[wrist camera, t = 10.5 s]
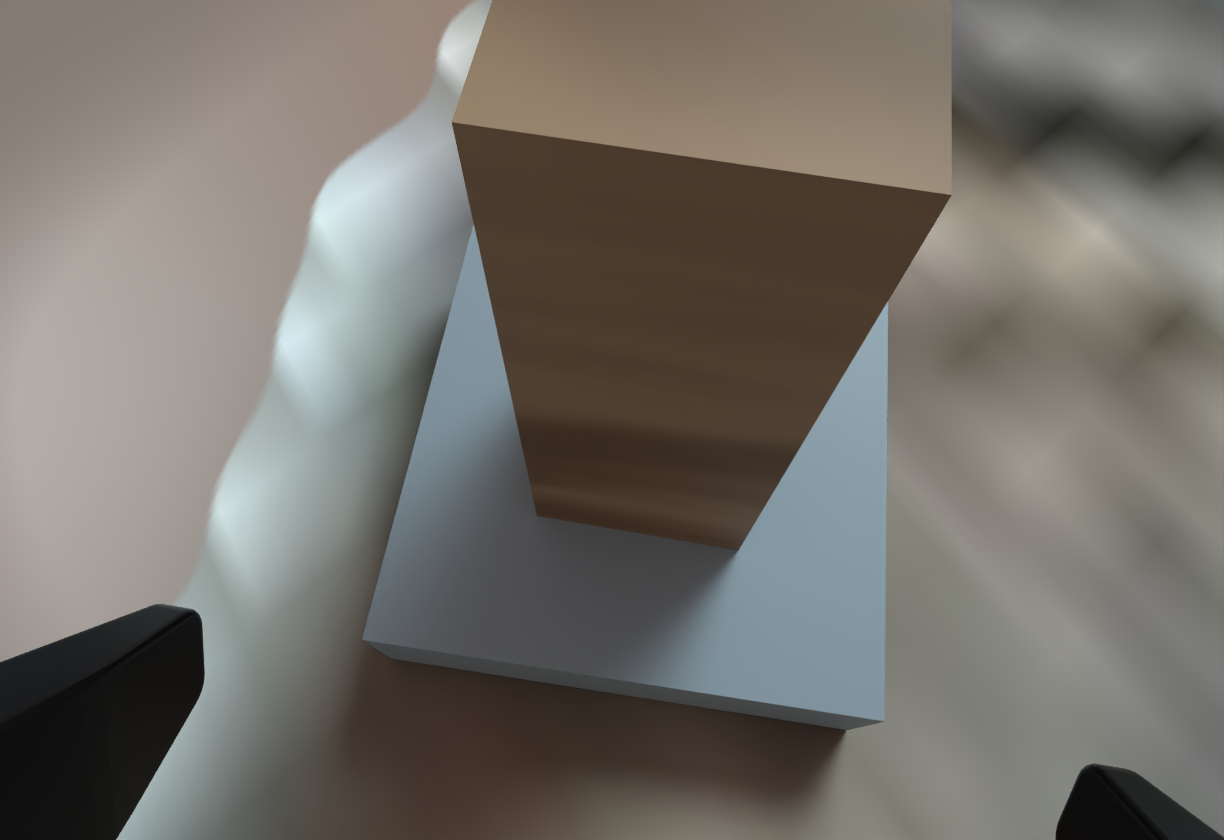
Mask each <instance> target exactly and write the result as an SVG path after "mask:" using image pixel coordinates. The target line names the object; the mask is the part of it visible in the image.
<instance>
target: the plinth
mask: <svg viewBox="0 0 1224 840" xmlns="http://www.w3.org/2000/svg"><path fill="white" fill-rule="evenodd" d="M887 367H888V302H887V304H886V305H885V307H884V309H883V310H882V312H881V314H880V315H879V317H878V319H877V320H876V322H875V324H874V325H873V327H872V329H871V330H870V332H869V334H868V335H867V337H866V339H865V340H864V342H863V344H862V345H861V347H860V349H859V350H858V352H857V354H856V355H855V357H854V359H853V360H852V362H851V364H850V365H849V367H848V369H847V370H846V372H845V374H844V375H843V377H842V379H841V380H840V382H839V384H838V385H837V387H836V389H835V390H834V392H833V394H832V395H831V397H830V399H829V400H828V402H827V404H826V405H825V407H824V409H823V410H822V412H821V414H820V415H819V417H818V419H817V420H816V422H815V424H814V425H813V427H812V429H811V430H810V432H809V434H808V435H807V437H806V439H805V440H804V442H803V444H802V445H801V447H800V449H799V451H798V452H797V454H796V456H795V457H794V459H793V461H792V462H791V464H790V466H789V467H788V469H787V471H786V472H785V474H784V476H783V477H782V479H781V481H780V482H779V484H778V486H777V487H776V489H775V491H774V492H773V494H772V496H771V497H770V499H769V501H768V502H767V504H766V506H765V507H764V509H763V511H762V512H761V514H760V516H759V517H758V519H757V521H756V522H755V524H754V526H753V527H752V529H751V531H750V532H749V534H748V536H747V537H746V539H745V541H744V542H743V544H742V546H741V547H740V549H739V550H733V549H727V548H721V547H715V546H709V545H703V544H698V543H692V542H686V541H680V540H674V539H668V538H663V537H657V536H651V535H645V534H639V533H633V532H628V531H622V530H616V529H610V528H604V527H598V526H593V525H587V524H581V523H575V522H569V521H563V520H558V519H552V518H546V517H540V516H537V514H536V510H535V505H534V500H533V496H532V491H531V486H530V482H529V477H528V473H527V468H526V463H525V459H524V454H523V449H522V445H521V440H520V436H519V431H518V426H517V422H516V417H515V412H514V408H513V403H512V398H511V394H510V389H509V385H508V380H507V375H506V371H505V366H504V361H503V357H502V352H501V348H500V343H499V338H498V334H497V329H496V324H495V320H494V315H493V311H492V306H491V301H490V297H489V292H488V287H487V283H486V278H485V273H484V269H483V264H482V260H481V255H480V250H479V246H478V241H477V236H476V232H475V227H474V225H473V228H472V232H471V236H470V240H469V243H468V247H467V251H466V254H465V258H464V262H463V266H462V269H461V273H460V277H459V280H458V284H457V288H456V292H455V295H454V299H453V303H452V306H451V310H450V314H449V318H448V321H447V325H446V329H445V332H444V336H443V340H442V343H441V347H440V351H439V355H438V358H437V362H436V366H435V369H434V373H433V377H432V381H431V384H430V388H429V392H428V395H427V399H426V403H425V407H424V410H423V414H422V418H421V421H420V425H419V429H418V433H417V436H416V440H415V444H414V447H413V451H412V455H411V459H410V462H409V466H408V470H407V473H406V477H405V481H404V485H403V488H402V492H401V496H400V499H399V503H398V507H397V511H396V514H395V518H394V522H393V525H392V529H391V533H390V537H389V540H388V544H387V548H386V551H385V555H384V559H383V563H382V566H381V570H380V574H379V577H378V581H377V585H376V589H375V592H374V596H373V600H372V603H371V607H370V611H369V615H368V618H367V622H366V626H365V629H364V633H363V637H362V640H363V641H364V642H366V643H368V644H369V645H371V646H372V647H374V648H375V649H377V650H379V651H380V652H382V653H383V654H385V655H386V656H388V657H390V658H391V659H396V660H403V661H409V662H416V663H422V664H428V665H435V666H441V667H447V668H454V669H460V670H467V671H473V672H479V673H486V674H492V675H498V676H505V677H511V678H518V679H524V680H530V681H537V682H543V683H549V684H556V685H562V686H569V687H575V688H581V689H588V690H594V691H600V692H607V693H613V694H620V695H626V696H632V697H639V698H645V699H652V700H658V701H664V702H671V703H677V704H683V705H690V706H696V707H703V708H709V709H715V710H722V711H728V712H734V713H741V714H747V715H754V716H760V717H766V718H773V719H779V720H785V721H792V722H798V723H805V724H811V725H817V726H824V727H830V728H836V729H843V730H850V729H854V728H858V727H863V726H867V725H871V724H876V723H880V722H884V721H885V624H886V496H887Z"/></svg>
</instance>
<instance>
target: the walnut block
mask: <svg viewBox="0 0 1224 840" xmlns="http://www.w3.org/2000/svg"><path fill="white" fill-rule="evenodd" d="M452 125H453V130H454V135H455V139H456V144H457V148H458V153H459V158H460V162H461V167H462V172H463V176H464V181H465V185H466V190H467V195H468V199H469V204H470V209H471V213H472V218H473V223H474V227H475V232H476V236H477V241H478V246H479V250H480V255H481V260H482V264H483V269H484V273H485V278H486V283H487V287H488V292H489V297H490V301H491V306H492V311H493V315H494V320H495V324H496V329H497V334H498V338H499V343H500V348H501V352H502V357H503V361H504V366H505V371H506V375H507V380H508V385H509V389H510V394H511V398H512V403H513V408H514V412H515V417H516V422H517V426H518V431H519V436H520V440H521V445H522V449H523V454H524V459H525V463H526V468H527V473H528V477H529V482H530V486H531V491H532V496H533V500H534V505H535V510H536V514H537V516H540V517H546V518H552V519H558V520H563V521H569V522H575V523H581V524H587V525H593V526H598V527H604V528H610V529H616V530H622V531H628V532H633V533H639V534H645V535H651V536H657V537H663V538H668V539H674V540H680V541H686V542H692V543H698V544H703V545H709V546H715V547H721V548H727V549H733V550H739V549H740V547H741V546H742V544H743V542H744V541H745V539H746V537H747V536H748V534H749V532H750V531H751V529H752V527H753V526H754V524H755V522H756V521H757V519H758V517H759V516H760V514H761V512H762V511H763V509H764V507H765V506H766V504H767V502H768V501H769V499H770V497H771V496H772V494H773V492H774V491H775V489H776V487H777V486H778V484H779V482H780V481H781V479H782V477H783V476H784V474H785V472H786V471H787V469H788V467H789V466H790V464H791V462H792V461H793V459H794V457H795V456H796V454H797V452H798V451H799V449H800V447H801V445H802V444H803V442H804V440H805V439H806V437H807V435H808V434H809V432H810V430H811V429H812V427H813V425H814V424H815V422H816V420H817V419H818V417H819V415H820V414H821V412H822V410H823V409H824V407H825V405H826V404H827V402H828V400H829V399H830V397H831V395H832V394H833V392H834V390H835V389H836V387H837V385H838V384H839V382H840V380H841V379H842V377H843V375H844V374H845V372H846V370H847V369H848V367H849V365H850V364H851V362H852V360H853V359H854V357H855V355H856V354H857V352H858V350H859V349H860V347H861V345H862V344H863V342H864V340H865V339H866V337H867V335H868V334H869V332H870V330H871V329H872V327H873V325H874V324H875V322H876V320H877V319H878V317H879V315H880V314H881V312H882V310H883V309H884V307H885V305H886V304H887V302H888V300H889V299H890V297H891V295H892V294H893V292H894V290H895V289H896V287H897V285H898V284H899V282H900V280H901V279H902V277H903V275H904V274H905V272H906V270H907V269H908V267H909V265H910V264H911V262H912V260H913V259H914V257H915V255H916V254H917V252H918V250H919V248H920V247H921V245H922V243H923V242H924V240H925V238H926V237H927V235H928V233H929V232H930V230H931V228H932V227H933V225H934V223H935V222H936V220H937V218H938V217H939V215H940V213H941V212H942V210H943V208H944V207H945V205H946V203H947V202H948V200H949V198H950V197H951V195H952V157H951V0H493V1H492V4H491V7H490V10H489V13H488V16H487V19H486V22H485V25H484V28H483V31H482V34H481V37H480V40H479V43H478V45H477V48H476V51H475V54H474V57H473V60H472V63H471V66H470V69H469V72H468V75H467V78H466V81H465V84H464V87H463V90H462V93H461V96H460V99H459V102H458V105H457V108H456V111H455V114H454V117H453V120H452Z"/></svg>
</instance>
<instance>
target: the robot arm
mask: <svg viewBox="0 0 1224 840" xmlns="http://www.w3.org/2000/svg"><path fill="white" fill-rule="evenodd" d="M204 674H205V672H204V652H203V631H202V621H201V618H200V615H199V614H198V613H197V612H196V611H195V610H193V609H189V608H183V607H177V606H171V605H165V604H156V605H152V606H149V607H147V608H144V609H141V610H139V611H136V612H134V613H131V614H128V615H125V616H123V617H120V618H117V619H115V620H112V621H109V622H107V623H104V624H101V625H99V626H96V627H93V628H91V629H88V630H85V631H83V632H80V633H77V634H75V635H72V636H69V637H67V638H64V639H62V640H59V641H56V642H53V643H50V644H48V645H45V646H42V647H40V648H37V649H35V650H32V651H29V652H26V653H24V654H21V655H18V656H16V657H13V658H11V659H8V660H5V661H2V662H0V840H116V839H117V837H118V836H119V834H120V832H121V831H122V829H123V827H124V826H125V824H126V823H127V821H128V819H129V818H130V816H131V815H132V813H133V811H134V809H135V808H136V806H137V804H138V802H139V801H140V799H141V797H142V796H143V794H144V792H145V790H146V789H147V787H148V785H149V783H150V782H151V780H152V778H153V777H154V775H155V773H156V771H157V770H158V768H159V766H160V765H161V763H162V761H163V759H164V758H165V756H166V754H167V752H168V751H169V749H170V747H171V746H172V744H173V742H174V740H175V739H176V737H177V735H178V733H179V732H180V730H181V728H182V727H183V725H184V723H185V721H186V720H187V718H188V716H189V714H190V713H191V711H192V709H193V708H194V706H195V704H196V702H197V700H198V698H199V696H200V694H201V691H202V688H203V684H204ZM1056 840H1224V837H1223V836H1221V835H1220V834H1219V833H1217V832H1216V831H1215V830H1213V829H1212V828H1210V827H1209V826H1208V825H1206V824H1205V823H1204V822H1202V821H1201V820H1200V819H1198V818H1197V817H1196V816H1194V815H1193V814H1192V813H1190V812H1189V811H1187V810H1186V809H1185V808H1183V807H1182V806H1181V805H1179V804H1178V803H1177V802H1175V801H1174V800H1173V799H1171V798H1170V797H1169V796H1167V795H1166V794H1164V793H1163V792H1162V791H1160V790H1159V789H1158V788H1156V787H1155V786H1154V785H1152V784H1151V783H1150V782H1148V781H1147V780H1146V779H1144V778H1143V777H1141V776H1140V775H1139V774H1137V773H1136V772H1133V771H1131V770H1128V769H1123V768H1118V767H1112V766H1106V765H1100V764H1090V765H1087V766H1085V767H1084V768H1083V769H1082V770H1081V771H1080V773H1079V775H1078V777H1077V779H1076V782H1075V784H1074V786H1073V789H1072V791H1071V793H1070V796H1069V798H1068V800H1067V803H1066V805H1065V807H1064V810H1063V812H1062V814H1061V817H1060V819H1059V822H1058V825H1057V829H1056Z"/></svg>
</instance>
